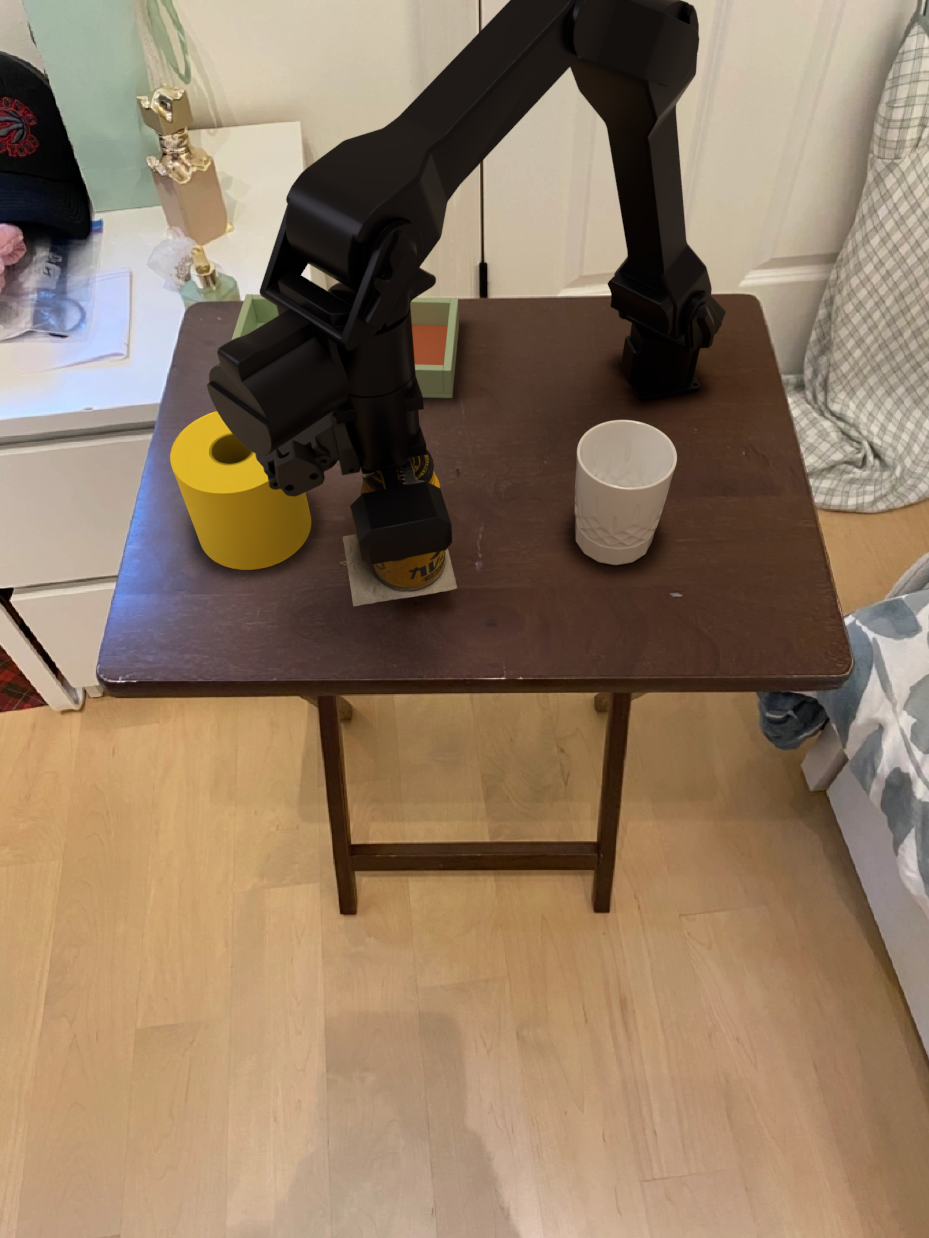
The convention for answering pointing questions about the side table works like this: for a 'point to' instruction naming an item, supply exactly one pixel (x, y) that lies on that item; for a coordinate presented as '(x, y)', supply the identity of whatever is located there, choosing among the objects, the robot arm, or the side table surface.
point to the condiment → (405, 574)
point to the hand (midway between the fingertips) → (390, 529)
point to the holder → (430, 338)
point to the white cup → (621, 489)
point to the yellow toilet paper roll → (235, 499)
